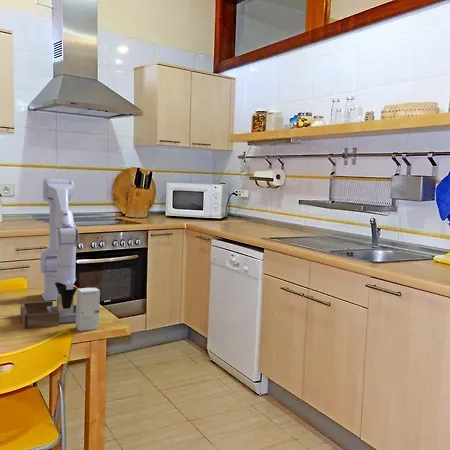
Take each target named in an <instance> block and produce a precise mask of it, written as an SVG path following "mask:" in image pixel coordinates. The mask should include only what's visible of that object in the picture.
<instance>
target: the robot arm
mask: <svg viewBox="0 0 450 450" xmlns="http://www.w3.org/2000/svg"><path fill="white" fill-rule="evenodd" d="M74 183H75V182H74V181H73V179H59V178H44V179H43V182H42V198H43V201H45V202H47V203H48V206H49V228H48V229H49V233H48V234H49V235H48V236H49V239H48V240H49V241H48V242H49V244H48V247H47V248H45V249H44V250H43V251H41V253H40V260H39V263H40V264H39V266H40V272H41V273H42V274H44V279H43V292H41V294H40V295H41V297H42V298H43V301H57V294H61V299H62V306H63V309H68V308H70V307H71V303H72V299H73V297H75V294H76V293H77V289H78V287H77V286H74V284H75V282H76V280H77V277H76V263H77V262H76V259H77V257H76V255H77V246H78V244H79V230H78V227H77V225H75V221H74V214H73V212H72V211H71V210H69V202H70V201H71V199H72V197H73V195H74V193H75V186H74V185H75V184H74ZM73 300H74V299H73Z"/></svg>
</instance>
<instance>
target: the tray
mask: <svg viewBox="0 0 450 450" xmlns="http://www.w3.org/2000/svg"><path fill="white" fill-rule="evenodd" d="M48 312H58V311H57V305H53V306H49V307H46V313H48ZM66 323H67V324H68V323H76V304H73V312H66V313H59V324H66Z"/></svg>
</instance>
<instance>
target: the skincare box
mask: <svg viewBox="0 0 450 450" xmlns="http://www.w3.org/2000/svg"><path fill="white" fill-rule="evenodd" d="M100 298H101V289H98V287H84V288H82V287H81V288H77V290H76V300H75V301H76V322H75V328H76V329H77V330H78V331H79V332H82V331H90V330H91V331H92V330H98V329H99V320H100V302H101V301H100V300H101V299H100Z"/></svg>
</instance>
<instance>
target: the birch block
mask: <svg viewBox="0 0 450 450" xmlns="http://www.w3.org/2000/svg"><path fill="white" fill-rule="evenodd" d="M74 297H75V296H73V299H72V303H71V307H70V308H68V309H63V306H62V299H61V294H57V300H56V306H57V311H58V312H59V313H66V312H73V305H74Z"/></svg>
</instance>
